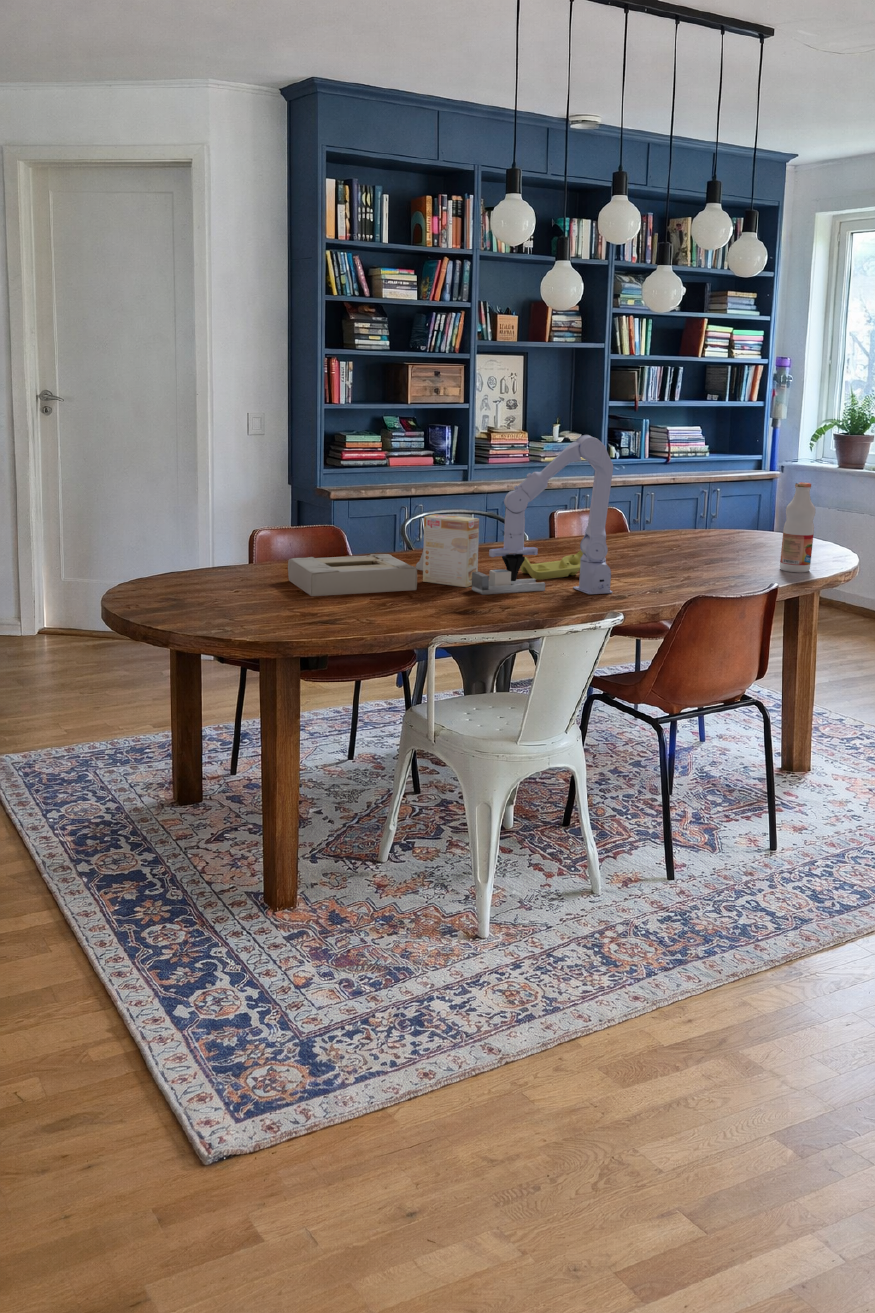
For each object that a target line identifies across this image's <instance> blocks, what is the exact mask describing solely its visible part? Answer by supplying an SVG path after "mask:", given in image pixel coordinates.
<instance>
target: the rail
mask: <svg viewBox="0 0 875 1313" xmlns="http://www.w3.org/2000/svg"><path fill="white" fill-rule="evenodd" d="M536 580H537V579H533V578H519V579H517V578H516V581H511V584H509V585H493V586H489V574H488V575H487V574H485V573H484V572H480V571H478V572H472V586H471V590H472V591H473V592H475V593H477V594H480V595H499V594H511V593H512V594H513V593H527V592H529V593H531V592H543V591H546V582H544V581H542V582H537V581H536Z"/></svg>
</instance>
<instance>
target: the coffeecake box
mask: <svg viewBox="0 0 875 1313" xmlns="http://www.w3.org/2000/svg"><path fill="white" fill-rule="evenodd" d="M479 537H480V518H479V517H478V518H477V517H468V516H457V515H448V514H437V513H435V514H429V515H425V516H423V550H422V553H423V570H422V582H423V583H432V584H438V585H447V586H453V587H462V588H469V587H472V572H479V570H478V568H479V566H478V565H479V540H480V538H479Z"/></svg>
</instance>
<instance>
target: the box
mask: <svg viewBox="0 0 875 1313" xmlns="http://www.w3.org/2000/svg"><path fill="white" fill-rule="evenodd" d="M287 573H288V581H289V582H290V583H292V584H294V585H295V586H296V587H297V588H299V589H300V590H302V591H304V592H305V593H306V594H307V595H309V596H310V597H319V596H321V597H322V596H338V595H352V594H353V595H354V594H369V593H370V594H372V593H386V592H387V593H388V592H389V593H390V592H402V591H403V592H405V591H417V587H418V569H417V568H416V566H414V565H410V564H408V563H407V562H404V561H403V560H400V559H398V558H396V557H394V556H392V555H391V554H388V553H379V554H377V553H376V554H372V553H371V554H369V555H354V556H336V557H335V556H334V557H333V556H332V557H330V556H329V557H314V556H310V557H309V556H308V557H293V558H289V559H288V563H287Z"/></svg>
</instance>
